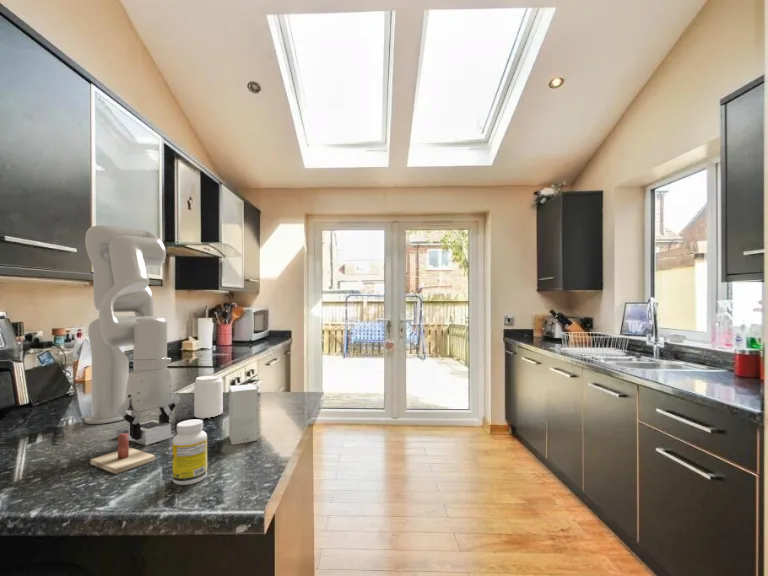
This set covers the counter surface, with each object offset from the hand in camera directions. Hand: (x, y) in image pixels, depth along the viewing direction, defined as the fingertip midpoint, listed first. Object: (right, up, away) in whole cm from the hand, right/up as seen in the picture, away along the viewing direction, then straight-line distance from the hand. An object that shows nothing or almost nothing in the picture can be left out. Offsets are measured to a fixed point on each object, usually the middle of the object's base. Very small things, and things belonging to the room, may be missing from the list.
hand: (150, 433), depth 100 cm
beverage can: (+6, -2, +21) cm, 22 cm away
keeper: (+3, -1, -15) cm, 15 cm away
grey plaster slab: (-7, -2, +4) cm, 9 cm away
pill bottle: (+22, 0, -24) cm, 33 cm away
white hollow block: (0, -1, 0) cm, 1 cm away
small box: (+24, -1, -1) cm, 24 cm away
